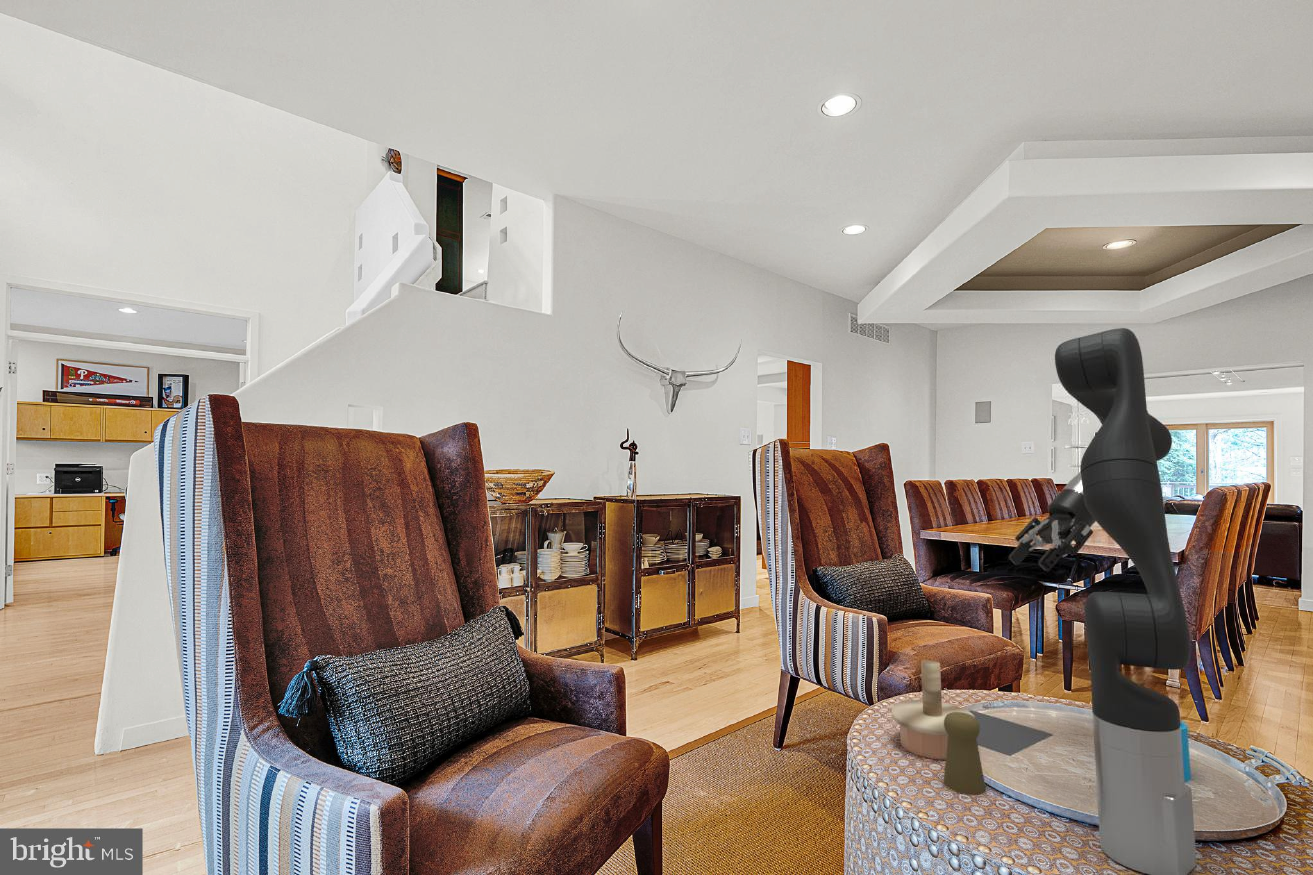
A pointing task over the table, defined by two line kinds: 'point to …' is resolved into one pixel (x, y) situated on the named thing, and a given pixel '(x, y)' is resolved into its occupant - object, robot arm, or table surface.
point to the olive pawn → (963, 754)
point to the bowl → (924, 743)
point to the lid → (926, 704)
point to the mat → (1006, 734)
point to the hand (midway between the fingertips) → (1027, 564)
